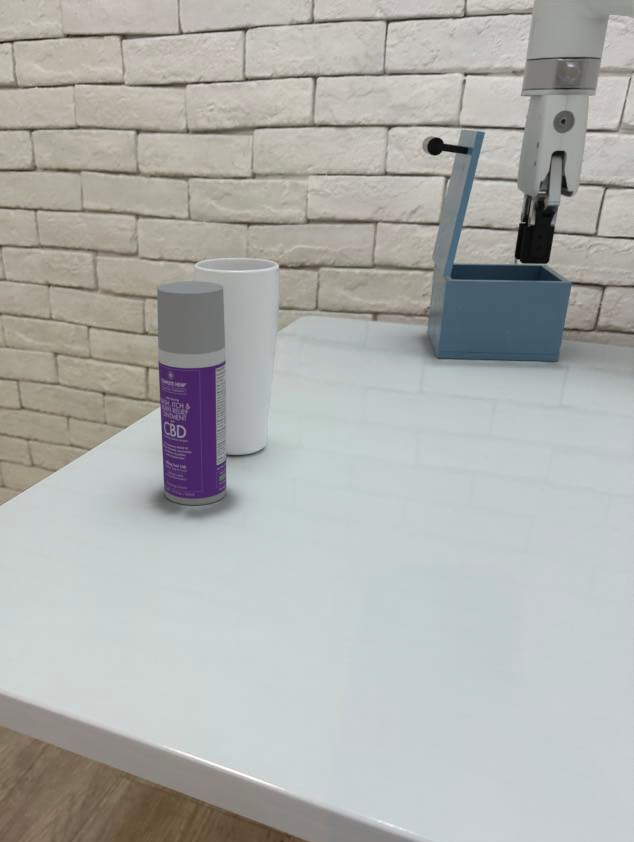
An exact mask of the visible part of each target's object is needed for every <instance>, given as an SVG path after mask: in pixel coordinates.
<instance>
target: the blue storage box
mask: <svg viewBox="0 0 634 842" xmlns="http://www.w3.org/2000/svg"><path fill="white" fill-rule="evenodd" d="M432 273H433V276H432V283H431V293H430V303H429V311H428V323H427V331H426V333H427V336H428V338H429V341H430V343H431V346H432V348H433V350H434V353H435V356H436V358H437V359H447V360H448V359H451V360H452V359H453V360H454V359H455V360H492V361H493V360H494V361H529V362H530V361H531V362H558V361H559V357H560V352H561V346H562V340H563V335H564V331H565V330H564V329H565V324H566V319H567V314H568V307H569V302H570V297H571V291H572V285H573V282H572V281H570V280H569V279H567V278H566V277H564V276H563V275H562V274H560V273H559V272H557V271H556V270H555V269H553V268H552V267H550V266H549V265H547V264H523V263H516V264H515V263H461V262H460V263H458V262H457V263H455V262H454V263H453V267H452V271H451V276H450V277H448V276H443V274H442V273H441V271H440V270H439V268H438V267H437V265H436V264H435V263H434V265H433V272H432Z"/></svg>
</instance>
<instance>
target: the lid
mask: <svg viewBox="0 0 634 842" xmlns="http://www.w3.org/2000/svg"><path fill="white" fill-rule="evenodd" d="M485 134H486V132H485V131H482V130H471V129H461V130H460V134H459V138H458V142H457V144H452V143H451V144H450V143H444V141H443V139H442V138H441V137H437V136H433V135H429V136H426V137H425V138H424V140H423V141H422V145H421V147H422V149H423V152H424V153H426V154H428V155H431V156H434V157H436V156H439V155H440V154H442V153H443V152H445V153H454V154H455V156H454V160H453V164H452V169H451V172H450V177H449V181H448V185H447V190H446V195H445V199H444V203H443V207H442V212H441V216H440V221H439V224H438V230H437V235H436V239H435V242H434V247H433V251H432V255H431V259H432V261H433V262H434V264H436V265H437V267H438V268H439V270H440V271H441V273H442V274H443V276H448V277H450V276H451V271H452V267H453V263H455V258H456V254H457V251H458V246H459V243H460V238H461V234H462V230H463V226H464V221H465V217H466V213H467V209H468V206H469V205H468V204H469V200H470V196H471V192H472V188H473V184H474V181H475V176H476V172H477V169H478V168H477V167H478V164H479V160H480V156H481V151H482V146H483V143H484V138H485Z"/></svg>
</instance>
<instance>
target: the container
mask: <svg viewBox="0 0 634 842" xmlns="http://www.w3.org/2000/svg"><path fill="white" fill-rule="evenodd" d="M156 294H157V295H156V298H157V299H156V300H157V302H156V303H157V348H158V349H157V351H158V352H157V353H158V354H157V355H158V356H157V357H158V359H157V360H158V361H157V362H158V363H157V364H158V381H159V382H158V383H159V401H160V402H159V405H160V406H159V408H160V425H161V447H162V450H161V451H162V468H163V469H162V471H163V473H162V474H163V489H164V491H163V493H164V496H165V498H166V499H168V500H169V501H171V502H174V503H177V504H181V505H186V506H187V505H188V506H201V505H208V504H212V503H216V502H218V501H220V500H222V499H223V498H224V497H225V496H226V494H227V454H226V357H225V327H224V295H223V286H222V285H220V284H216V283H210V282H196V281H194V280H193V281H189V280H188V281H187V280H186V281H175V282H168V283H164V284H160V285H158V286H157V288H156Z"/></svg>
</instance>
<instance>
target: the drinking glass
mask: <svg viewBox="0 0 634 842" xmlns="http://www.w3.org/2000/svg"><path fill="white" fill-rule="evenodd" d="M193 281H196V282H210V283H216V284H220V285H222V286H223V295H224V327H225V357H226V456H227V455H228V456H244V455H245V456H246V455H250V454H254V453H257V452H260V451H261V450H262V449H263V448H265V447H266V445H267V443H268V439H269V438H268V437H269V416H270V405H271V398H272V397H271V395H272V386H273V378H274V367H275V359H276V350H277V349H276V348H277V341H278V331H279V319H280V295H281V294H280V293H281V292H280V291H281V289H280V287H281V286H280V265H279V263H277V262H276V261H273V260H270V259H264V258H254V257H223V258H222V257H221V258H211V259H205V260H200V261H198V262H196V263H194V265H193Z"/></svg>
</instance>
